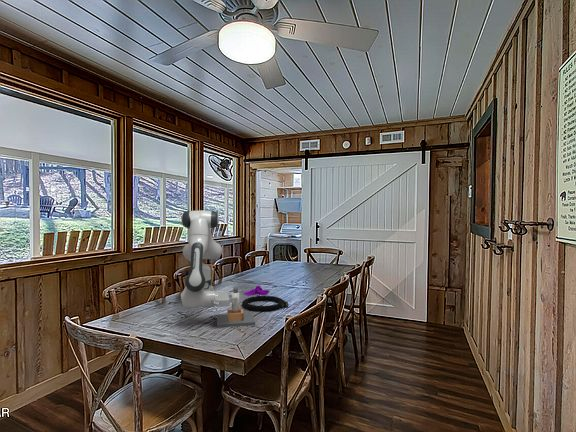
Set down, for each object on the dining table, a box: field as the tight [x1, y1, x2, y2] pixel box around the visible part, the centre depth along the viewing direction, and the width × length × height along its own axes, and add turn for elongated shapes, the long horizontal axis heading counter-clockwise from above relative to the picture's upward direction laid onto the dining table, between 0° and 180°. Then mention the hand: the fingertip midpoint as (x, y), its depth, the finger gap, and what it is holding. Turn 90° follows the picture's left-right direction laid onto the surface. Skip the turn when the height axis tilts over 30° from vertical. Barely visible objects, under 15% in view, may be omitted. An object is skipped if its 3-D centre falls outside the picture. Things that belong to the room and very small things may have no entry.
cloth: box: [242, 285, 270, 297], centre depth 242 cm, size 22×19×6 cm
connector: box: [231, 286, 240, 312], centre depth 181 cm, size 4×4×13 cm
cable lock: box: [241, 295, 289, 313], centre depth 211 cm, size 28×4×30 cm
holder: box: [216, 308, 256, 328], centre depth 181 cm, size 20×16×6 cm
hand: (237, 297), depth 181 cm, fingers closed on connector, 4 cm apart
